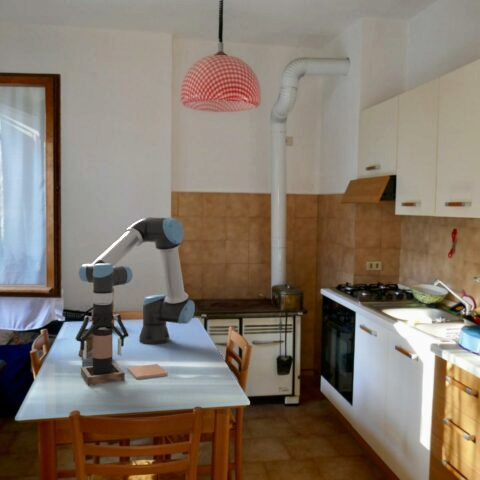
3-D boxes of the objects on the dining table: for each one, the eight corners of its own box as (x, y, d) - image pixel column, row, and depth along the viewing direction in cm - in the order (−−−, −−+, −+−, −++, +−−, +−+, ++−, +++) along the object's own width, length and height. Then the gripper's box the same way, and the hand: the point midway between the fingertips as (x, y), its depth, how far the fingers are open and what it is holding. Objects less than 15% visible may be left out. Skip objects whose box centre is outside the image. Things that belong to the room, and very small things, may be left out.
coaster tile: (157, 366, 226) (157, 363, 226) (167, 375, 215) (167, 372, 215) (127, 369, 220) (127, 367, 220) (136, 379, 209) (136, 376, 209)
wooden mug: (107, 357, 238) (107, 317, 237) (76, 357, 237) (76, 317, 236) (110, 351, 247) (111, 313, 246) (81, 351, 246) (81, 313, 245)
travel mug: (94, 374, 214) (94, 325, 212) (113, 374, 214) (114, 325, 213) (90, 380, 206) (90, 329, 205) (110, 380, 207) (111, 329, 206)
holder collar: (115, 370, 220) (115, 363, 219) (124, 380, 207) (124, 372, 207) (80, 374, 213) (80, 367, 213) (88, 385, 201) (88, 377, 201)
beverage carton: (81, 371, 218) (81, 355, 217) (95, 358, 237) (95, 343, 236) (100, 372, 217) (100, 356, 217) (113, 359, 237) (113, 344, 236)
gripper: (131, 299, 217) (130, 350, 219) (68, 303, 206) (67, 357, 207) (136, 302, 211) (135, 355, 212) (71, 306, 199) (71, 362, 200)
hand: (102, 356), depth 210 cm, fingers open, 13 cm apart
